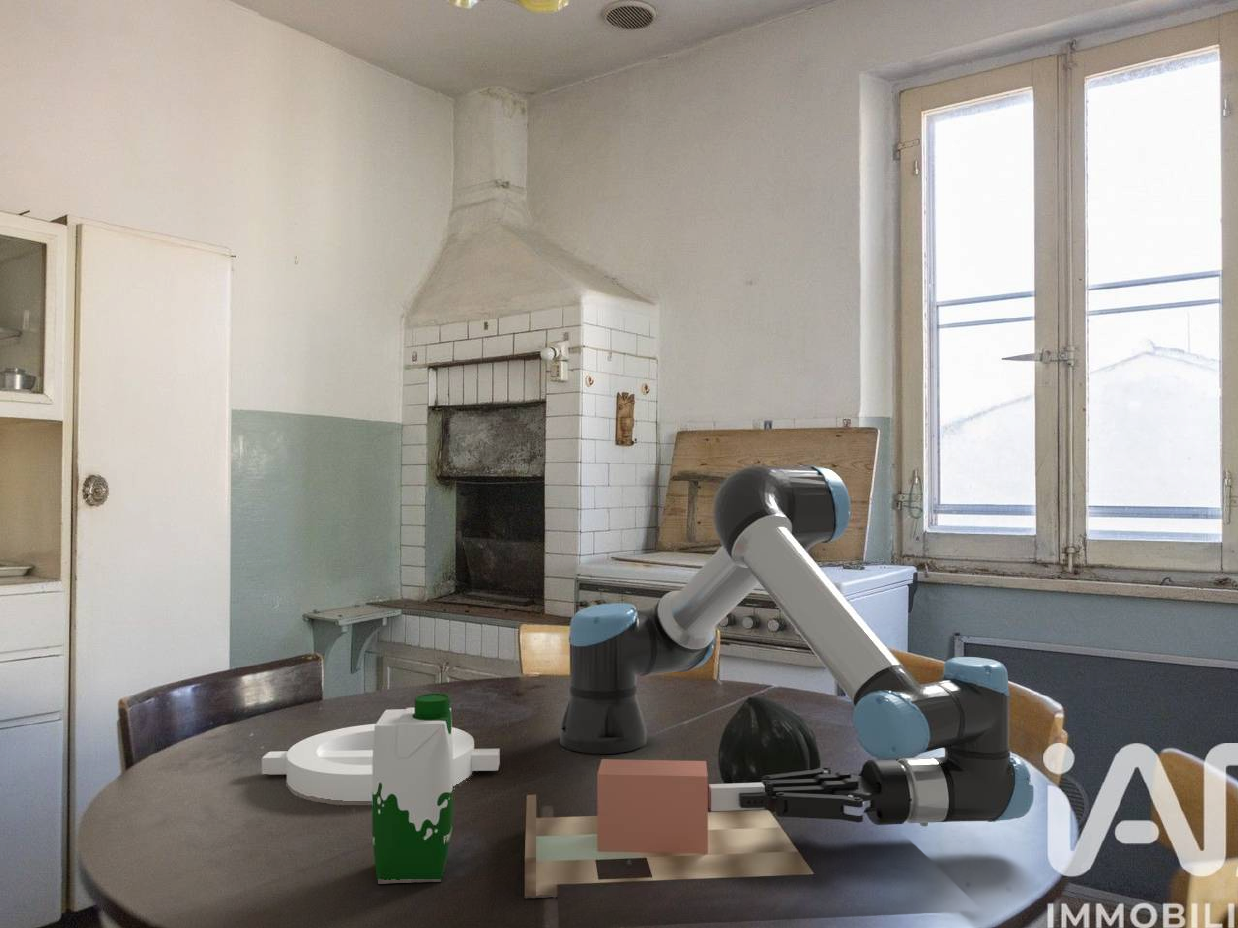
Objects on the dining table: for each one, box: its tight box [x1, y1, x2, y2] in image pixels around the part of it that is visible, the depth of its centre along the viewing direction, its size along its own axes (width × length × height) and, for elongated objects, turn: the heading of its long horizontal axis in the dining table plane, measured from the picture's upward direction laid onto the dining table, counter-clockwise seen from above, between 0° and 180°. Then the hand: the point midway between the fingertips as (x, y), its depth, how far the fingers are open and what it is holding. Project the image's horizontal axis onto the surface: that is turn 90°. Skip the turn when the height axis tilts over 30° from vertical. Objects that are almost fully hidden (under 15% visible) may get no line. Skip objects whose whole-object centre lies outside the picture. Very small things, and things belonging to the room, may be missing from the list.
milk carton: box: [371, 693, 454, 880], centre depth 107 cm, size 9×9×20 cm
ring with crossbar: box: [261, 723, 501, 801], centre depth 142 cm, size 28×28×5 cm
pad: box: [536, 834, 639, 862], centre depth 110 cm, size 12×8×2 cm, turn 95°
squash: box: [717, 695, 822, 784], centre depth 133 cm, size 14×15×15 cm
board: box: [524, 794, 814, 897], centre depth 111 cm, size 32×20×4 cm, turn 95°
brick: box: [596, 758, 709, 854], centre depth 111 cm, size 13×6×9 cm, turn 86°
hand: (710, 797), depth 110 cm, fingers closed
